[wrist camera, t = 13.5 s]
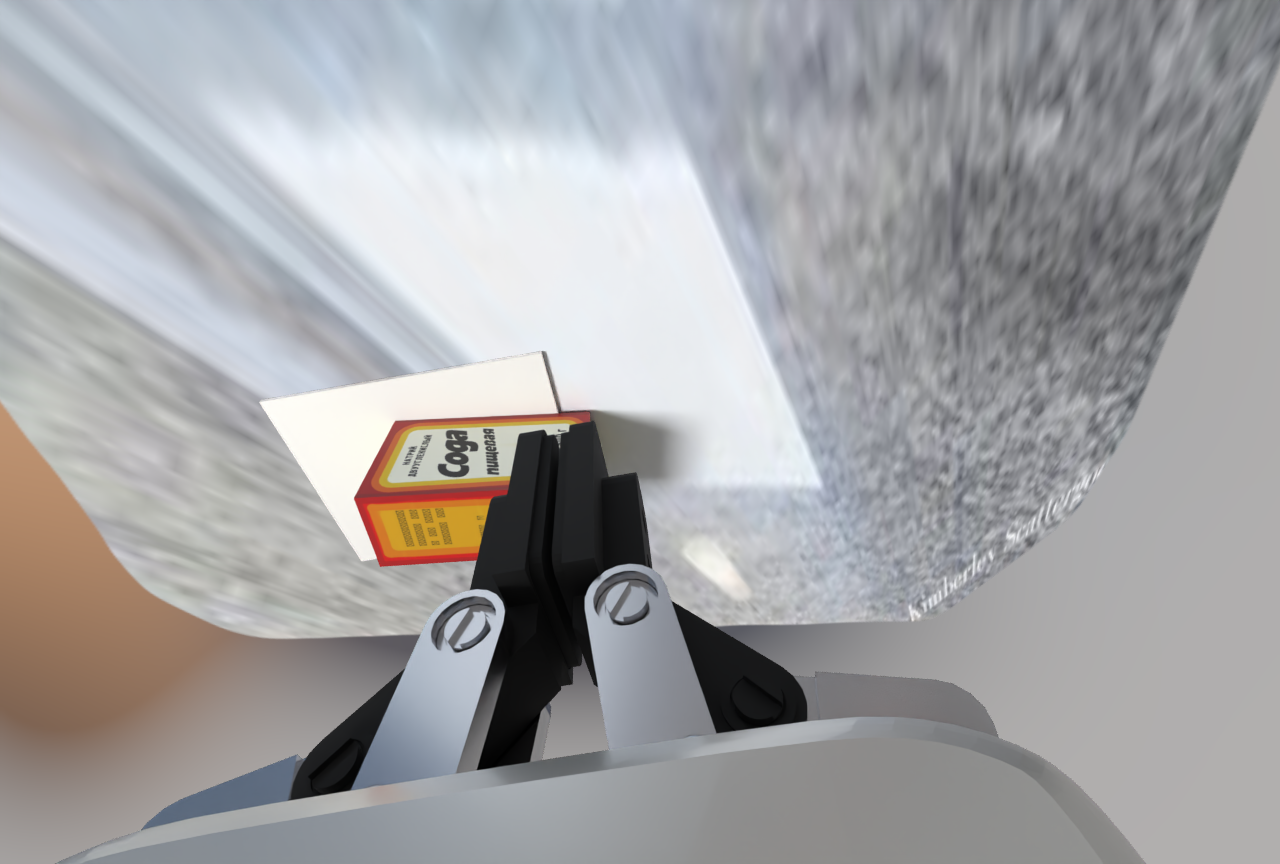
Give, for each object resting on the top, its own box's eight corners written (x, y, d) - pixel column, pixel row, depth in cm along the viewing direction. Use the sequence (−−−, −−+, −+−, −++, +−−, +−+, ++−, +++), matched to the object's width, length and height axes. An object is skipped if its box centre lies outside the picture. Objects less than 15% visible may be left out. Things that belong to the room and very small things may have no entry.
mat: (541, 351, 41) (541, 353, 41) (588, 519, 52) (588, 522, 51) (262, 399, 42) (259, 402, 41) (362, 558, 52) (361, 561, 51)
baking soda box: (593, 473, 48) (409, 483, 47) (589, 411, 44) (390, 420, 43) (595, 552, 40) (374, 566, 39) (591, 485, 37) (347, 498, 35)
